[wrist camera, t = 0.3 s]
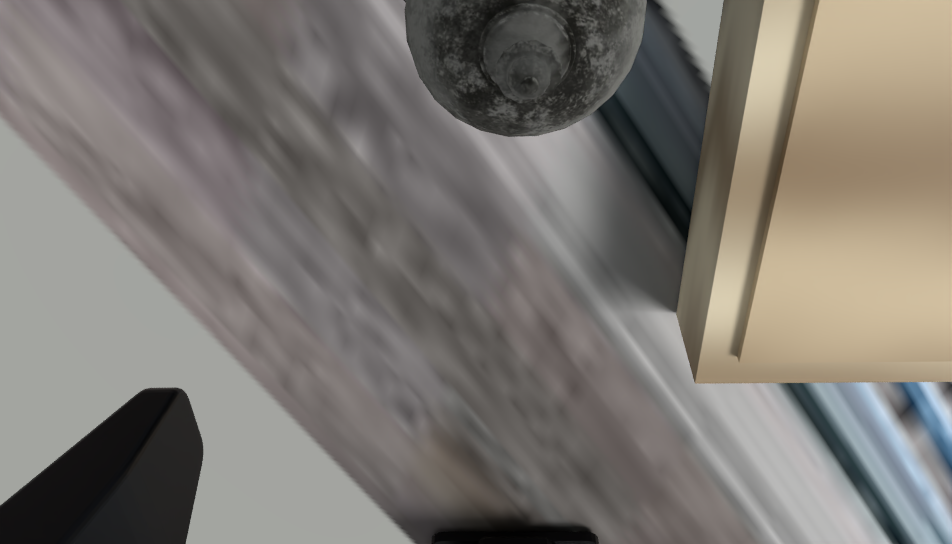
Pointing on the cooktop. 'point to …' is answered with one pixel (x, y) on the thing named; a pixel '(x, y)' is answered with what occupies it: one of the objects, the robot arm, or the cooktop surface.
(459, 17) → the salt shaker
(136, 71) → the cooktop surface
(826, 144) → the soap dish
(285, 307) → the cooktop surface
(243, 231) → the cooktop surface
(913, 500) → the cooktop surface
